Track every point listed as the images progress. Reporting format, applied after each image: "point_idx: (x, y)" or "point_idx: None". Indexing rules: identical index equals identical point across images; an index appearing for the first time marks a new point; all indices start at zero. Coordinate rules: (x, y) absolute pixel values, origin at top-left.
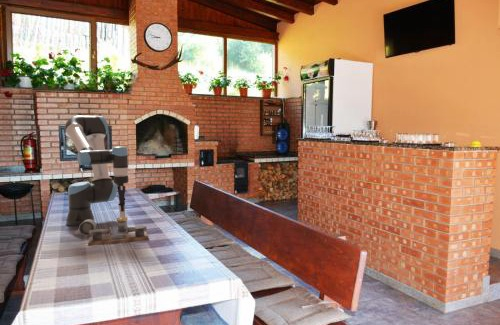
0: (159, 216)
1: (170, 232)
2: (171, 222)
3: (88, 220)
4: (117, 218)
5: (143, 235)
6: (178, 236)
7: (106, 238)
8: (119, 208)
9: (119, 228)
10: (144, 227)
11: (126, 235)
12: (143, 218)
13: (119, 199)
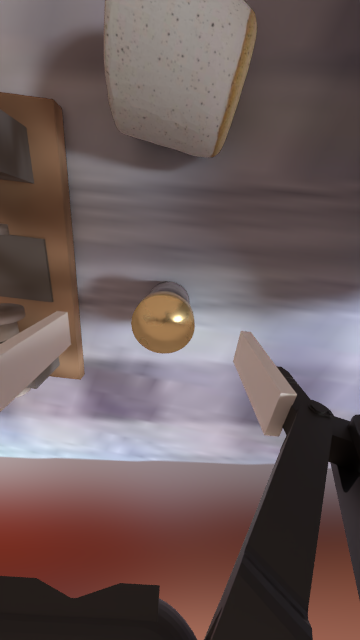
0: None
1: (84, 434)
2: (207, 460)
3: (152, 29)
4: (161, 299)
5: None
6: (34, 440)
7: (2, 206)
8: (249, 346)
9: (151, 291)
10: None
11: (41, 303)
12: (326, 405)
13: (299, 410)
